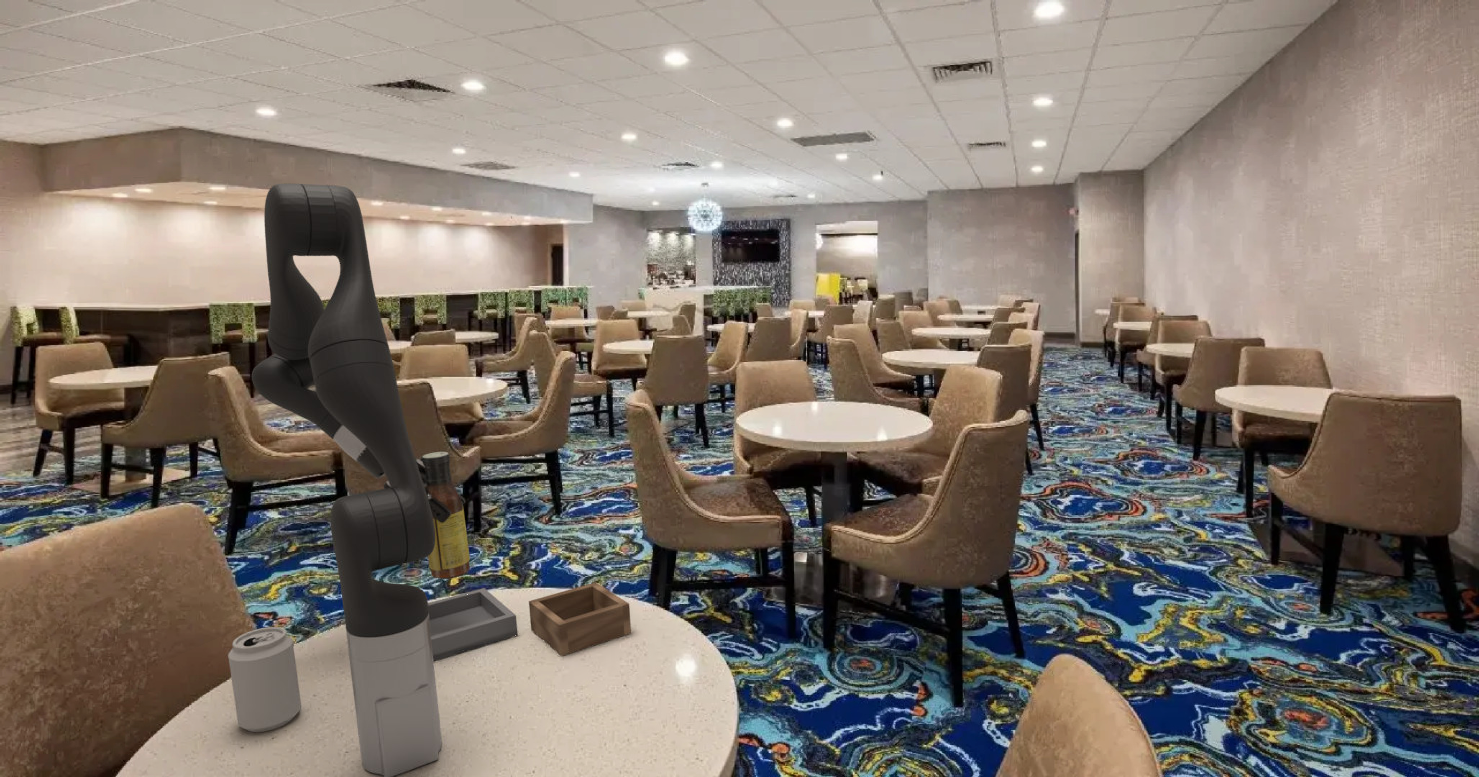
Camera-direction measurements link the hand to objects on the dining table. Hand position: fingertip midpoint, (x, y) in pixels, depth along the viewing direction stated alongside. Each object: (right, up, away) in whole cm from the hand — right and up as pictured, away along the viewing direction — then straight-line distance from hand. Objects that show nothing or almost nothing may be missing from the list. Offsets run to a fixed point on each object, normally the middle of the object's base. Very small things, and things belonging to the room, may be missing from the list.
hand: (454, 511), depth 132 cm
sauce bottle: (-1, -10, +2) cm, 11 cm away
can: (-17, -25, -21) cm, 37 cm away
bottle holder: (+20, -20, +2) cm, 28 cm away
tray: (-1, -20, +3) cm, 21 cm away
